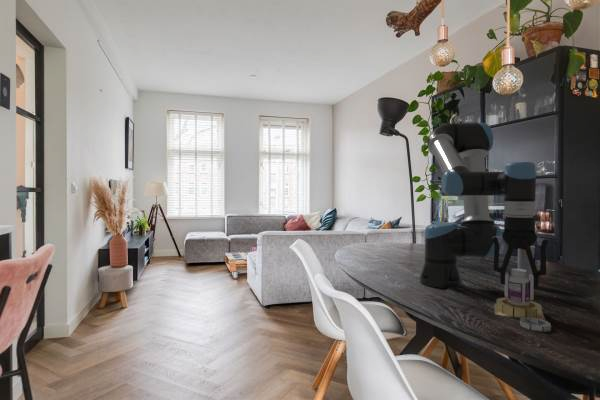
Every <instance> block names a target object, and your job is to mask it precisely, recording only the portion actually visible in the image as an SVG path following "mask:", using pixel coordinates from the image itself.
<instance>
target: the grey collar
mask: <svg viewBox="0 0 600 400" xmlns="http://www.w3.org/2000/svg"><path fill="white" fill-rule="evenodd" d="M545 320H546V319H545ZM545 320H542V319H538V318H530V317H529V318H528V317H525V318H519V322H520V324H519V325H520V327H521V328H524V329H527V330H529V331H534V332H539V333H541V332H543V333H546V332H551V331H552V325H551V322H549V321H548V320H546V321H545Z"/></svg>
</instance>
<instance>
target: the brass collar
mask: <svg viewBox="0 0 600 400" xmlns="http://www.w3.org/2000/svg"><path fill="white" fill-rule="evenodd" d="M495 301H496V303H495V304H496V310H497V311H498V312H500V313H502V314H505V315H508V316H507V317H509V316H512V317H511V318H516V317H517V318H516V319H520V318H525V317H528V318H529V317H530V318H540V317H542V313H543V306H542V305H541V304H540V303H538V302H536V301H534V300H530V304H529V305H528V306H519V305H513V304H511V303H509V302H508V297H500V298H497V299H496V300H495Z"/></svg>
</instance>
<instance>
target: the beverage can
mask: <svg viewBox="0 0 600 400" xmlns="http://www.w3.org/2000/svg"><path fill="white" fill-rule="evenodd" d="M530 249H531V252H532V255H533V259H534V262H535V263H536V246H535V245H531V246H530ZM517 269H523V270H526V271H527V276H526V277H527V278H528V279H529V275H533V273H532V270H531V267H530V264H529V260H528V257H527V254H526V251H525V250H523V249H517Z"/></svg>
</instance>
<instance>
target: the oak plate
mask: <svg viewBox="0 0 600 400" xmlns="http://www.w3.org/2000/svg"><path fill="white" fill-rule="evenodd" d="M493 304H494V305H493V306H494V315H497V316H503V317H510V318H513V317H512V316H508V315H505V314H502V313H500V312H498V311H497V310H496V303H493ZM515 318H516V319H518V318H517V317H515ZM538 319H542V320H545V321H547V320H546V318H545V315H544V313H543V312H542V317H540V318H538Z"/></svg>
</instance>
